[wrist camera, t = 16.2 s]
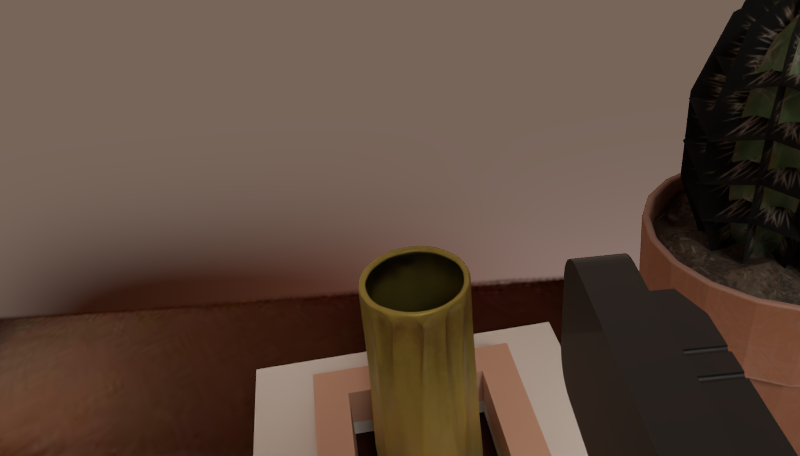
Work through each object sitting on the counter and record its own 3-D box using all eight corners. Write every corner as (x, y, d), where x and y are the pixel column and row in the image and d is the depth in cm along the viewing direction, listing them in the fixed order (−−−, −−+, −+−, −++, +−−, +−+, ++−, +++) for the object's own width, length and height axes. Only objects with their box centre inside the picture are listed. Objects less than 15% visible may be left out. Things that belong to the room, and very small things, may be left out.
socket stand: (548, 332, 50) (549, 293, 48) (682, 615, 34) (692, 572, 32) (259, 380, 49) (248, 341, 47) (249, 700, 32) (232, 660, 30)
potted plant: (669, 519, 38) (756, 55, 24) (595, 341, 49) (626, -41, 35) (932, 493, 38) (1169, 12, 24) (797, 321, 49) (905, -70, 35)
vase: (464, 424, 44) (453, 228, 36) (504, 506, 39) (502, 300, 31) (367, 453, 43) (334, 257, 35) (396, 541, 38) (366, 337, 30)
